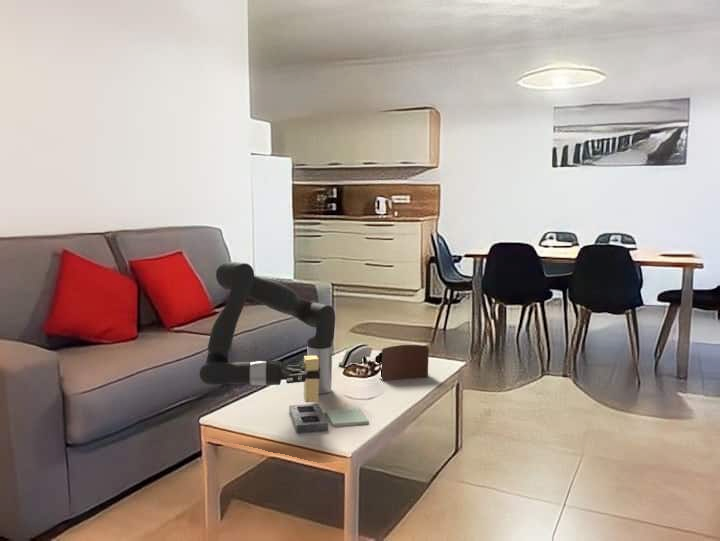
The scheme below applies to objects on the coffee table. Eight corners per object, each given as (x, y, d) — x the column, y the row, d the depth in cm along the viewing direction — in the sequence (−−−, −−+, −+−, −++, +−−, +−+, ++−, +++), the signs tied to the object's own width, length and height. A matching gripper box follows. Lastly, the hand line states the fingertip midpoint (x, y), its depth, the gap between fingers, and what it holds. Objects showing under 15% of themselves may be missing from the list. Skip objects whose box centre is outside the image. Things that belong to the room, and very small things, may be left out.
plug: (303, 398, 199) (304, 356, 197) (316, 397, 200) (316, 355, 198) (305, 402, 195) (305, 359, 193) (318, 401, 196) (318, 358, 194)
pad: (325, 413, 211) (325, 410, 210) (360, 411, 213) (360, 408, 213) (332, 426, 199) (332, 423, 199) (368, 424, 202) (368, 421, 202)
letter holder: (428, 378, 252) (429, 344, 251) (381, 381, 247) (382, 346, 246) (419, 371, 262) (420, 338, 260) (374, 373, 257) (375, 340, 255)
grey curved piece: (360, 358, 279) (366, 339, 276) (368, 363, 277) (375, 344, 274) (337, 366, 266) (344, 346, 262) (345, 372, 263) (352, 351, 260)
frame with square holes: (289, 412, 211) (289, 405, 210) (318, 410, 213) (318, 403, 213) (296, 433, 193) (296, 425, 193) (328, 430, 196) (328, 423, 195)
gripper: (263, 368, 188) (319, 367, 189) (267, 355, 202) (319, 354, 203) (263, 392, 189) (319, 391, 190) (267, 377, 203) (319, 376, 204)
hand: (319, 372), depth 197 cm, fingers closed on plug, 4 cm apart
